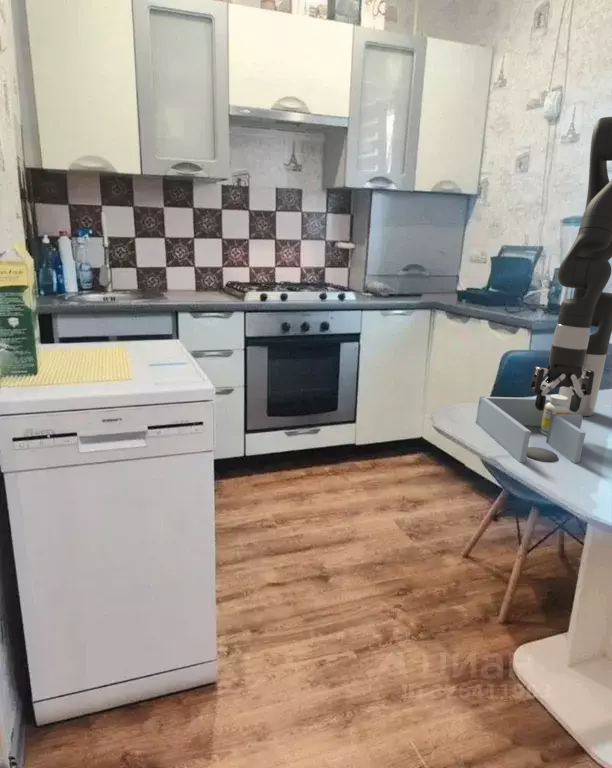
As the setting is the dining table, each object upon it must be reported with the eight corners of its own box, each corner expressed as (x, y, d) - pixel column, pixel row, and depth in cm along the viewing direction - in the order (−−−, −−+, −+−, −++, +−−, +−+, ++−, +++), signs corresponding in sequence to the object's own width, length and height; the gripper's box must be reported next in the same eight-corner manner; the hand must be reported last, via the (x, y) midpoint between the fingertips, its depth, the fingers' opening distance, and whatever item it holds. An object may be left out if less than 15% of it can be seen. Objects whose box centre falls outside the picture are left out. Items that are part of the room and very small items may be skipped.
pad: (517, 448, 122) (517, 446, 122) (546, 448, 123) (547, 447, 123) (532, 461, 116) (533, 459, 115) (563, 461, 116) (564, 460, 116)
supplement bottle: (537, 433, 132) (544, 396, 129) (542, 428, 136) (549, 392, 134) (561, 439, 129) (568, 401, 126) (565, 433, 133) (573, 396, 131)
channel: (475, 422, 137) (479, 396, 135) (547, 424, 139) (552, 398, 137) (519, 462, 115) (525, 431, 113) (604, 463, 117) (611, 433, 115)
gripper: (588, 343, 131) (574, 406, 135) (532, 339, 129) (520, 404, 133) (608, 349, 124) (593, 416, 128) (549, 346, 122) (536, 414, 126)
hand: (556, 410), depth 131 cm, fingers open, 8 cm apart
